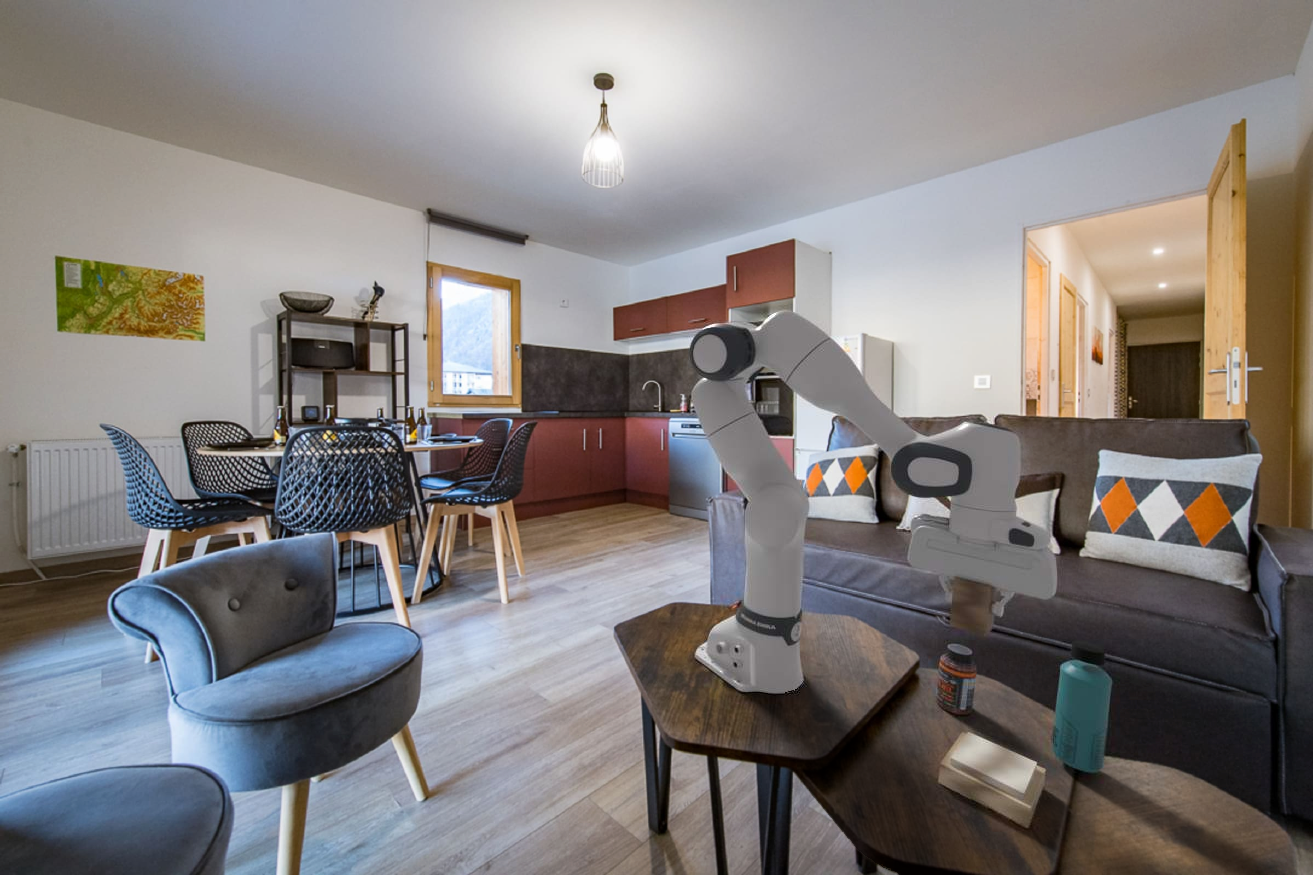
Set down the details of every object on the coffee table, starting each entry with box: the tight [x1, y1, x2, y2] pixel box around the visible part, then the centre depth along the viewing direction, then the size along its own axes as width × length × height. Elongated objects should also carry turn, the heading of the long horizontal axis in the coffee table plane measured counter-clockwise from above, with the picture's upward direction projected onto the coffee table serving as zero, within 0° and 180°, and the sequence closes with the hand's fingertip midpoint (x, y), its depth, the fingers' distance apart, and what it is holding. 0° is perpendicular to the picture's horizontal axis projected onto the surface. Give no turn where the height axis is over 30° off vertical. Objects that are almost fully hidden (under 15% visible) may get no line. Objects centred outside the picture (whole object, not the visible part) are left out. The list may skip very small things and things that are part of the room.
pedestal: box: [938, 731, 1047, 828], centre depth 76 cm, size 11×11×4 cm
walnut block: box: [949, 577, 998, 638], centre depth 82 cm, size 5×5×8 cm
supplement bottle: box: [935, 643, 978, 716], centre depth 95 cm, size 6×6×11 cm
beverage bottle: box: [1050, 640, 1113, 774], centre depth 80 cm, size 6×7×20 cm
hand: (973, 608), depth 82 cm, fingers closed on walnut block, 5 cm apart
